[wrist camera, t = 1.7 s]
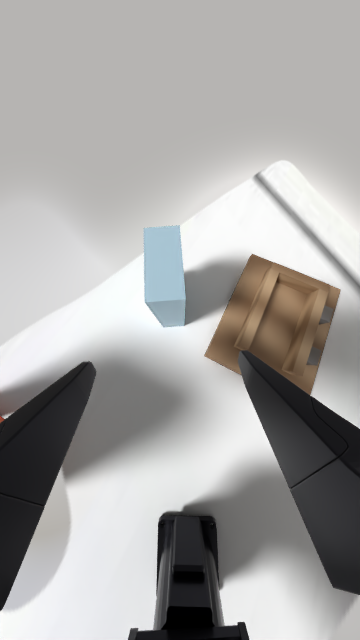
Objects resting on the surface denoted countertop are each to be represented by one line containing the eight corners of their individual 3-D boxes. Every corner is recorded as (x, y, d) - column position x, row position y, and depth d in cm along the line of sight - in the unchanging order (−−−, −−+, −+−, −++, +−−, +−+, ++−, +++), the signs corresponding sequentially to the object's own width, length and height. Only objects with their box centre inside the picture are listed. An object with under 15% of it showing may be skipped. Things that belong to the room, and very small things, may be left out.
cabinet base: (300, 405, 19) (321, 414, 16) (204, 356, 21) (207, 356, 18) (333, 292, 23) (356, 283, 20) (249, 257, 24) (258, 244, 21)
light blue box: (184, 325, 22) (185, 299, 11) (163, 327, 22) (144, 302, 11) (180, 276, 24) (178, 214, 13) (161, 278, 24) (143, 217, 13)
